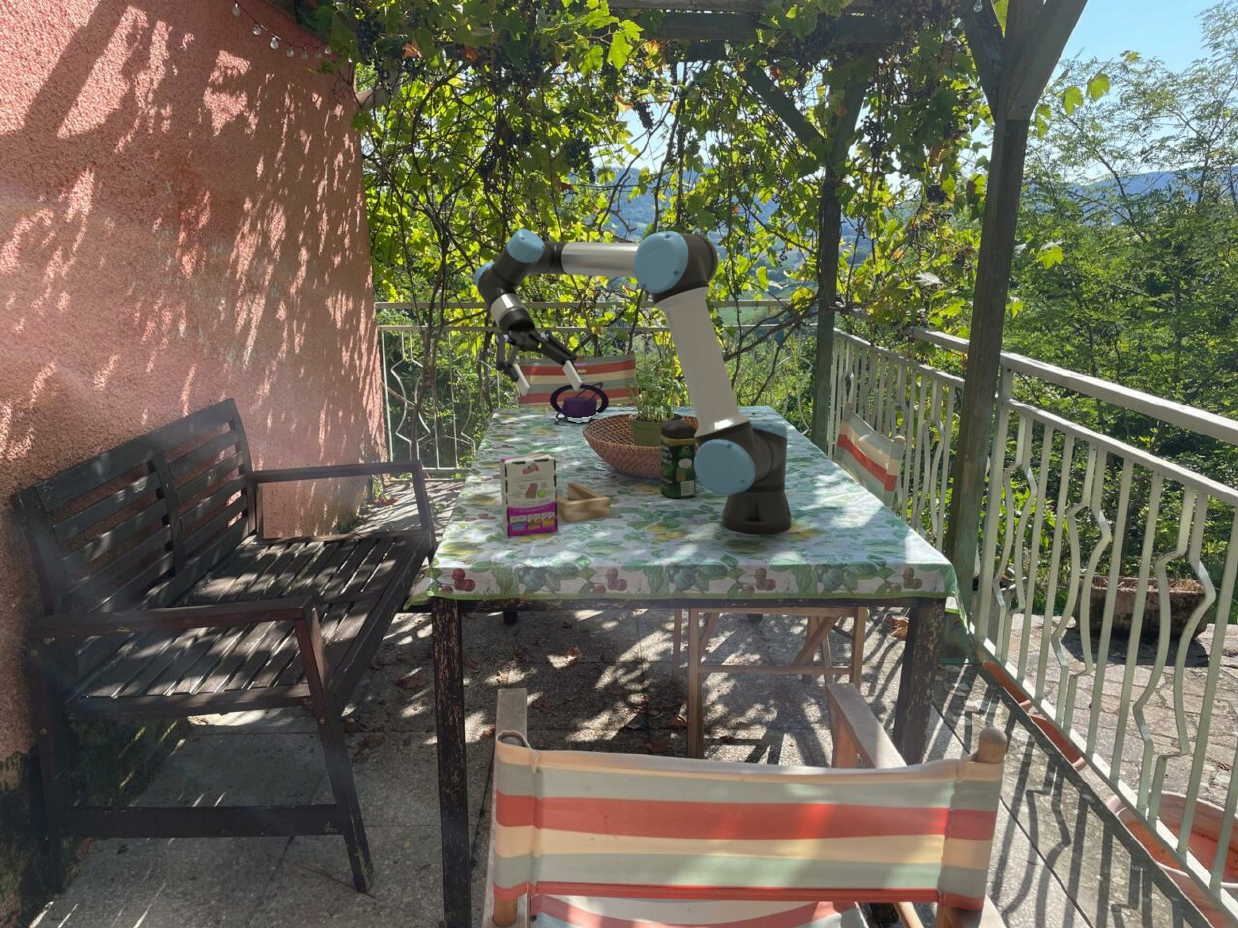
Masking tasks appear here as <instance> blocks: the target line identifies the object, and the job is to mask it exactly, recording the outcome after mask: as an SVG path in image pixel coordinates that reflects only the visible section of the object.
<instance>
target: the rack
mask: <svg viewBox="0 0 1238 928" xmlns="http://www.w3.org/2000/svg"><path fill="white" fill-rule="evenodd" d="M567 498H568V499H569V500H571V501H572V502H570V501H568V500H566V499H564V497H563V496H561V495H558V494H557V517H558V518H560V519H561V520H563V521H565V522H573V521H579V520H586V519H592V518H598V517H604V516H610V509H611V498H610V497H608V496H606V495H604V494H601V493H600V492H598V491H595V490H593V489H591V488H589V487H586V486H585V485H583V484H580V483H579V482H576V481H573V482H572V481H571V482H568V483H567Z"/></svg>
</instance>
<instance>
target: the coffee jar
mask: <svg viewBox="0 0 1238 928" xmlns="http://www.w3.org/2000/svg"><path fill="white" fill-rule="evenodd" d="M696 431H697V428H696V427H695V426H694V425H692V424H690V423H687V422H685V421H682V420H681V419H672V420H665V421H664V422H663V423H662V424H661V426H660V478H659V479H660V481H659V483H660V484H659V486H660V487H659V489H660V490H659V491H661V493H662V494H664V495H665V496H667V497H669V498H675V499H676V498H678V499H688V498H690V497H692V496H696V495H695V494H696V491H697V490H696V489H697V488H696V483H697V482H696V473H695V469H694V458H695V456H696V446H697V443H696V440H695V436H694V435H695V433H696Z"/></svg>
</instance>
